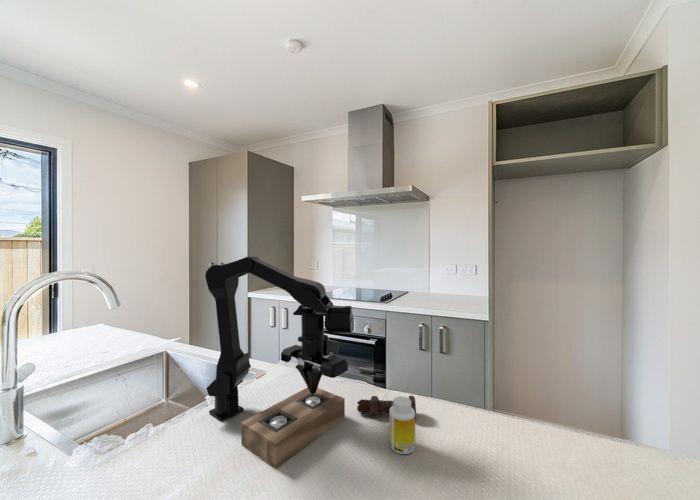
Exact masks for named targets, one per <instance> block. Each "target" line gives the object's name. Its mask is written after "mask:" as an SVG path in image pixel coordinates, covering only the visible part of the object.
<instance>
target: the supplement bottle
mask: <svg viewBox="0 0 700 500" xmlns="http://www.w3.org/2000/svg"><path fill="white" fill-rule="evenodd" d="M392 401H393V406H392V407H391V408H390V411H389V414H388V415H389V416H388V417H389V422H388V423H389V445H390V448H391V449H392V450H393V451H394V452H395V453H397V454H400V455H408V454H411V453H413V451H415V449H416V420H415V411H414V409H413V408H412V406H411V400H410V399H409V397H406V396H402V395H400V396H396V397H394V398H393V400H392Z"/></svg>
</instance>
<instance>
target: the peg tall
mask: <svg viewBox="0 0 700 500" xmlns="http://www.w3.org/2000/svg"><path fill="white" fill-rule="evenodd" d="M285 423H287V418H286V417H284V416H276V417H273V418H272V419H271V420H270V425H271V426H273V427H274V428H276V429H277V428H279V427H280V426H282V425H284V424H285Z"/></svg>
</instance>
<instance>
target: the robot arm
mask: <svg viewBox="0 0 700 500" xmlns="http://www.w3.org/2000/svg"><path fill="white" fill-rule="evenodd" d="M247 274H252V275H253V276H255V277H256V278H259V279H261V280H263V281H265V282H267V283H269V284H272V285H273V286H276V287H277V288H279V289H282V290H283V291H285V292H286V293H288V294H289V295H290V296H291V297H292V298H293V300H295V301H296V302H298V303H299V304H300V305H298V306H297V309H296V310H294V311H293V313H292V315H293V316H301V317H300V318H301V319H300V320H301V327H300V328H301V335H300V336H298V337H297V342H299V343H301V345H298V344H294V345H291V346H288V347H286V348H284V349H282V352H281V353H280V360H281V361H282V362H285V363H290V362H291V360H292V358H295V359H296V361H297V365H296V366H295V369H296V370H297V371H298V372H299V373H300V376H301V377H302V379H303V380H304V384H305V385H306V388H307V387H308V389H309V391H310V393H312V394H314V393H316V391H317V388H319V384H320V382H321V378H322V377H323V376H325V377H328V378H330V379H333V378H337V377H338V376H340V375H342V374H344V373H346V372H347V371H349V363H348V360H347V359H346V358H342V357H340V356H336V355H338V354H339V350H340V349H339V348H340V344H341V342H339V341H336V340H332V339H329V336H328V334H325V330H326V332H328V333H329V334H342V335H343V334H344V335H353V333H354V326H355V325H354V322H355V321H354V314H353V310H352V309H353V306H351V305H343V306H341V305H340V306H338V305H337V306H336V305H334V303H333V301H331V299H330V298H329V297H328V295H327V292H326V288H325V286H324V285H323V283H320V282H319V281H315V280H311V279H308V278H301V277H298V276H295V275H293V274H290V273H289V272H286V271H285V270H282V269H280V268H278V267H277V266H274V265H272V264H270V263H268V262H266V261H264V260H262V259H260V258H259V257H258V256H255V255H253V256H251V255H250V256H244V257H242V258H241V259H238V260H235V261H231V262H228V263H221V264H214V265H211V266H209V267H208V269H207V270H206V271H205V275H204V276H205V282H206V285H207V289H208V292H209V293H210V294H211V295H212V297H213V298H214V301H215V311H216V317H217V319H216V320H217V329H218V339H219V348H220V355H219V358H218V361H217V364H216V372H215V379H214V380H213V381H212V382H211V383H209V385H208V386H207V387H206V392H207V395H208V396H209V397H214V408H211V409H210V410H209V411H208V413H209V414H210V415H211V416H213V417H214V418H216V419H217V420H219V421H221V422H222V421H223V422H224V421H225V420H226V419H229V418H230V417H233V416H235V415H237V414H239V413H240V412H243V411H244V407H243V406H241V405H239V404H240V403H239V388H238V386H239V385H240V384H242V383H243V381H244V379H245V378H246V377H247V375H248V374H249V371H250V368H251V367H252V365H251V362H250V353H249V352H247V353H245V352H244V351H243V349H241V344H240V335H239V326H238V325H239V324H238V316H237V315H238V314H237V305H236V293H237V290H238V287H239V280H240V277H243V276H246V275H247ZM330 353H331V354H334V356H332V357H329V358H327V357H328V356H330ZM335 354H336V355H335Z"/></svg>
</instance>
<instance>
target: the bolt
mask: <svg viewBox="0 0 700 500" xmlns="http://www.w3.org/2000/svg"><path fill="white" fill-rule="evenodd" d="M408 398H409V399H410V400H411V406H412V408H413V409H414V411H415V421H416V420H417V407H416V397H415V396H414V395H408ZM392 406H393V400H391V399H390V400H387V399H386V400H382V399H379V397H378V395H372V396H371V397H370V399H365V398H364V399H363V398H361V399H360V400H358V401H357V406H356V409H357V411H358V413H367V414H370V416H371V417H372V418H378V417H379V415H380V414H383V415H384V414H385V415H386V414H387V415H389V411H390V408H391V407H392Z"/></svg>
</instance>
